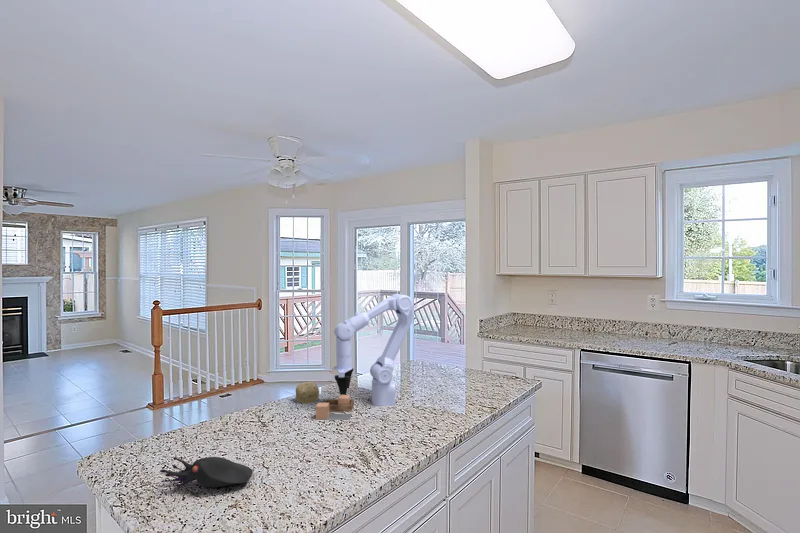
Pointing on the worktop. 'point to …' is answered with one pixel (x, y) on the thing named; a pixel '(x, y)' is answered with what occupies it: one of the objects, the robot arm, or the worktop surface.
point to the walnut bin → (339, 406)
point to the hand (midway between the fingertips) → (344, 391)
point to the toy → (211, 472)
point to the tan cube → (322, 411)
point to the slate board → (338, 417)
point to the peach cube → (344, 400)
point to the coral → (307, 392)
